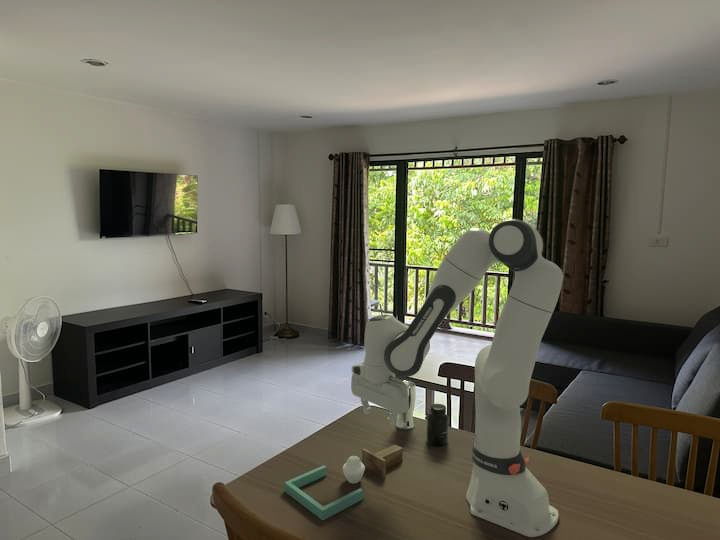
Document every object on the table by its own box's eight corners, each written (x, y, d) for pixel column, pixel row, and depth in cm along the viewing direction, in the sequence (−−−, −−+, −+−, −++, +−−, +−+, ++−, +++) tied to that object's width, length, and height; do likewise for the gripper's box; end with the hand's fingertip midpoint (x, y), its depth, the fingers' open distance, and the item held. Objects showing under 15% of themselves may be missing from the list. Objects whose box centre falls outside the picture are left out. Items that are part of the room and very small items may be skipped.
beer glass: (415, 430, 165) (416, 387, 163) (395, 430, 165) (396, 387, 163) (413, 421, 172) (414, 380, 170) (394, 421, 172) (394, 380, 170)
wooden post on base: (409, 464, 143) (410, 448, 142) (383, 477, 136) (384, 461, 135) (387, 453, 150) (388, 437, 149) (362, 465, 142) (362, 449, 142)
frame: (363, 499, 125) (363, 490, 125) (322, 520, 117) (322, 510, 116) (323, 473, 138) (323, 465, 137) (284, 491, 129) (284, 482, 128)
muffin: (344, 487, 131) (344, 463, 130) (340, 475, 136) (340, 452, 136) (367, 485, 132) (367, 460, 131) (362, 473, 138) (362, 449, 137)
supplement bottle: (447, 448, 153) (448, 411, 151) (425, 445, 154) (426, 409, 153) (448, 438, 159) (449, 403, 158) (427, 436, 161) (428, 401, 159)
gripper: (414, 379, 131) (413, 427, 133) (363, 361, 147) (363, 405, 148) (398, 384, 127) (397, 434, 129) (347, 365, 142) (347, 410, 144)
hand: (378, 418), depth 139 cm, fingers open, 8 cm apart
